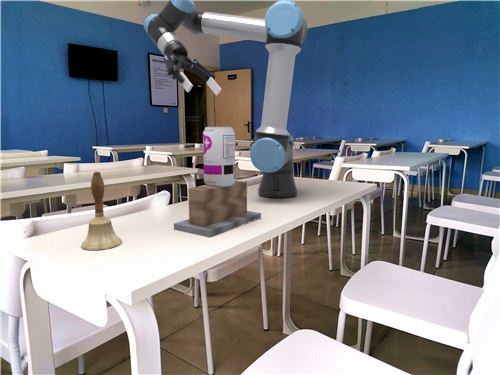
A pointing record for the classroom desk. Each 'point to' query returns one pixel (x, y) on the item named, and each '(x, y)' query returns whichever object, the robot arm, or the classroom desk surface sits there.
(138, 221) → the classroom desk surface
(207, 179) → the supplement can
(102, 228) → the hand bell
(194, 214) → the stand
